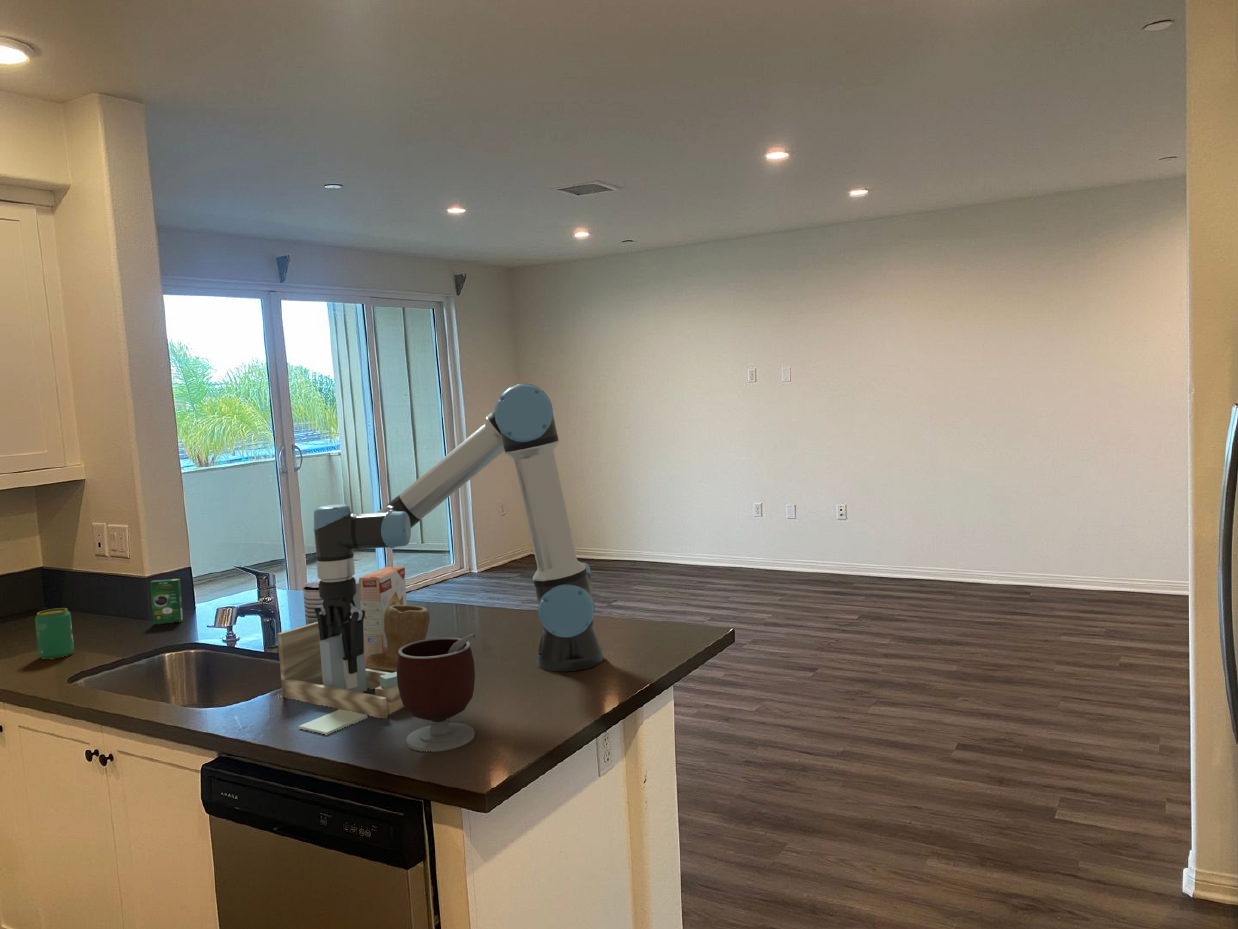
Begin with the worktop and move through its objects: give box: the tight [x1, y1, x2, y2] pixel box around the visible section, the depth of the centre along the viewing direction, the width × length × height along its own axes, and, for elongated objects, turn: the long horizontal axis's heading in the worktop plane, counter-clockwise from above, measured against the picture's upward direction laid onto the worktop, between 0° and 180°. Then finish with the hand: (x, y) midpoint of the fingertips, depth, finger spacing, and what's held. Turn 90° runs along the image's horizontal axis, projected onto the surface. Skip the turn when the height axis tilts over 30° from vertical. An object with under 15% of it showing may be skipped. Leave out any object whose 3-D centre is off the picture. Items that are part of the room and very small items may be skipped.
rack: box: [276, 622, 390, 719], centre depth 190 cm, size 31×13×14 cm, turn 58°
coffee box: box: [149, 578, 184, 626], centre depth 269 cm, size 8×3×13 cm, turn 103°
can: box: [302, 580, 324, 625], centre depth 258 cm, size 11×11×12 cm
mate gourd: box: [397, 633, 476, 753], centre depth 164 cm, size 16×14×20 cm
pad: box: [298, 709, 369, 736], centre depth 176 cm, size 8×10×1 cm
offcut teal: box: [380, 672, 398, 689], centre depth 184 cm, size 3×5×2 cm, turn 129°
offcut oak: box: [387, 698, 404, 715], centre depth 184 cm, size 5×9×2 cm, turn 152°
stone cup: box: [365, 604, 431, 673], centre depth 209 cm, size 15×12×15 cm
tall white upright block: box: [319, 634, 368, 693], centre depth 192 cm, size 3×9×13 cm, turn 147°
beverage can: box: [34, 607, 75, 659], centre depth 238 cm, size 8×8×12 cm
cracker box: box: [358, 566, 408, 658], centre depth 221 cm, size 14×6×21 cm, turn 168°
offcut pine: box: [374, 686, 401, 702], centre depth 184 cm, size 4×7×2 cm, turn 157°
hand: (345, 686), depth 192 cm, fingers closed on tall white upright block, 3 cm apart
